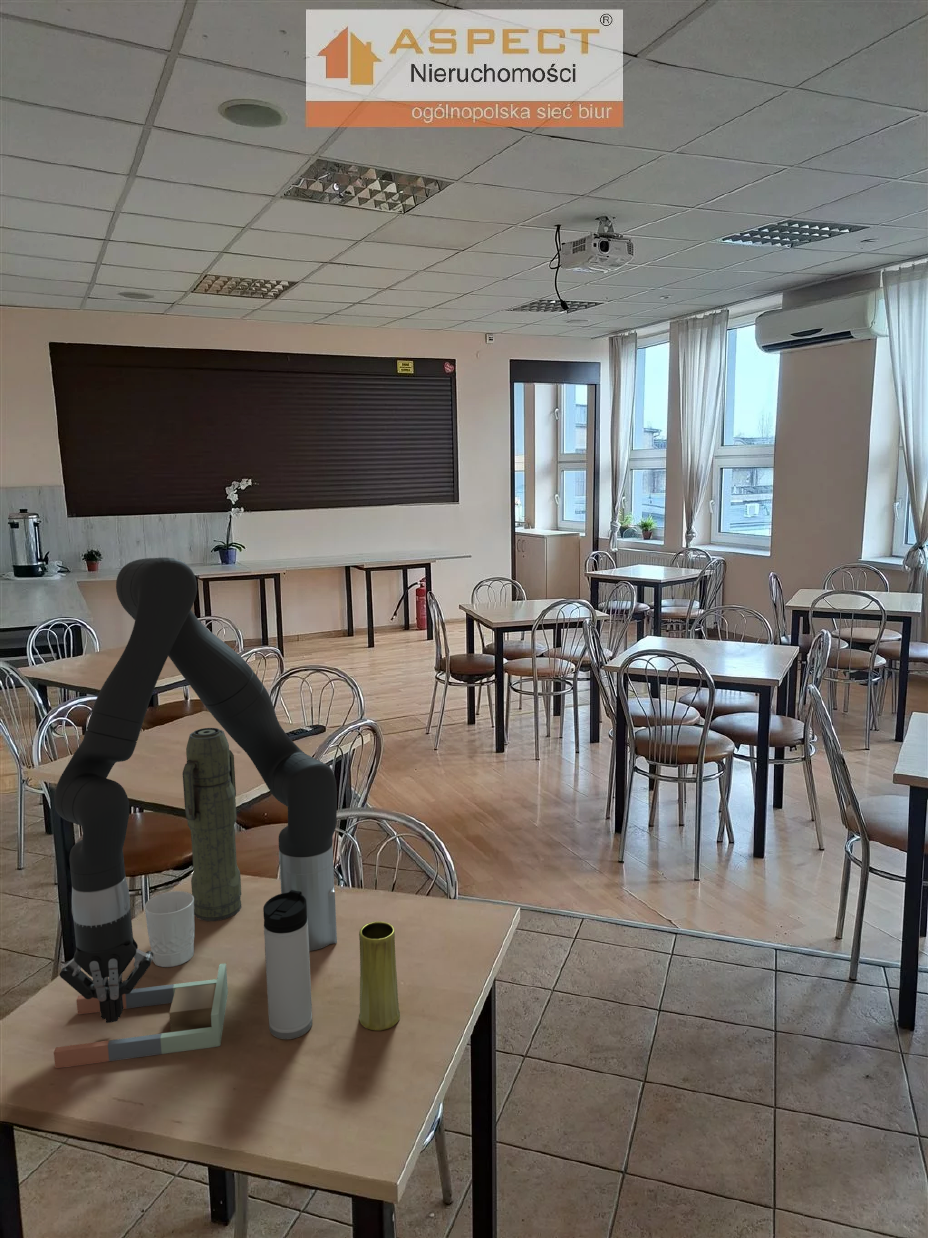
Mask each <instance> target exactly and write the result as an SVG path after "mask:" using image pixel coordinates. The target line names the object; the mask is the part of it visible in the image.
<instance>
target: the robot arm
mask: <svg viewBox="0 0 928 1238" xmlns="http://www.w3.org/2000/svg"><path fill="white" fill-rule="evenodd" d="M115 588H116V589H115V590H116V595H117V598H118V601H119V603H120V604H121V607H122V608H123V609H124V610H125V612H126V613H127V614H128V615H129V616H130V617H131V618H132V619H133V620H134V624H133V628H132V631H131V634H130V636H129V639H128V642H127V644H126V645H125V648H124V650H123V652H122V654H121V656H120V657H119V659H118V661H117V662H116V664H115V666H114V667H113V669H112V670H111V672H110V673H109V675H108V676H107V677H106V680H105V681H104V683H103V684H102V686H101V688H100V690H99V692H98V694H97V697H96V700H95V701H94V705H93V706H92V707H93V708H92V710H91V714H90V715H89V720H88V724H87V725H86V729H85V732H84V734H83V738H82V741H81V743H80V745H79V746H78V747H77V749H76V750H75V752H74V753H73V754H72V756H71V758H70V760H69V762H68V763H67V764H66V767H65V768H64V769H63V772H62V773H61V775H60V777H59V779H58V781H57V783H56V786H55V791H54V800H53V803H54V808H55V811H56V813H57V815H58V816H59V817H60V818H61V819H63V820H65V821H67V822H69V823H73V824H75V825H78V826H81V830H82V839H80V840H78V842H75V844H74V845H73V846H72V848H71V849H70V853H69V868H70V869H69V870H70V871H69V872H70V878H71V879H70V881H71V915H72V919H73V927H74V929H73V930H74V937H75V947H76V949H75V952H74V955H73V958H72V959H70V960H67V961H65V962H64V963H63V966H62V968H61V970H60V972H59V977H60V978H61V979H63V981H65V983H67V984H68V985H69V986H70V987H72V988H73V989H74V990H75V991H76V992H77V993H79V995H82V996H83V997H84V998H86V999H91V998H97V999H98V1000H99V1003H100V1012H99V1013H100V1017H101V1020H105V1023H106V1024H110V1023H117V1022H118V1020H119V1018H121V1017H122V1014H123V1011H124V1009H123V999H122V995H123V994H129V993H130V992H131V991H132V990H133V989H135V987H136V986H137V984H138V983H139V981H141V979H142V977H144V975H145V973H146V972H147V970H148V969H149V968H150V967H151V963H152V962H153V961H152V958H153V952H151V950H147V951H144V950H141V949H139V947H138V946H139V945H138V943H137V941H136V940H135V937H134V933H133V932H134V931H133V923H132V912H131V901H130V899H131V897H130V891H129V885H128V881H127V878H126V869H125V868H126V867H125V858H124V857H125V856H124V851H123V850H124V845H125V840H126V837H127V831H128V824H129V823H128V822H129V819H130V818H129V817H130V801H129V798H128V795H127V792H126V790H125V788H124V787H123V785H121V784H120V783H119V782H118V781H115V780H113V779H110V778H108V776H109V774H110V772H111V771H112V769H113V767H114V766H115V764H116V763H121V762H126V761H128V760H130V758H131V757H132V756H133V754H134V752H135V749H136V747H137V743H138V740H139V736H140V733H141V730H142V727H143V724H144V721H145V717H146V714H147V710H148V707H149V705H150V701H151V699H152V697H153V694H154V692H155V691H154V690H155V688H156V685H157V683H158V681H159V679H160V678H159V677H160V675H161V673H162V671H163V668H164V667H165V664H166V662H167V660H168V658H169V659H170V660H171V662H172V663H173V665H174V666H175V668H176V669H177V671H178V672H179V673H180V675H182V677H183V678H184V679H185V681H186V683H187V684H188V685H189V686H190V687H191V689H192V690H193V692H194V693H195V694H196V696H197V697H198V698H199V700H200V701H201V703H202V704H203V705H204V707H205V708H206V710H208V711H209V713H210V714H211V716H212V717H213V718H214V719H215V720H216V722H218V724H219V725H220V726H221V727H222V729H224V731H225V732H226V733H227V734H228V735H229V737H231V739H232V740H233V741H234V742H235V743H236V744H237V745H238V746H239V747H240V748H241V749H242V750H243V751H244V753H246V755H247V756H248V757H249V758H250V760H251V762H252V763H253V765H254V766H255V767H254V768H255V769H256V770H257V771H258V773H259V776H261V778H262V780H263V782H264V783H265V786H267V789H268V790H269V792H270V793H271V795H272V796H273V797H274V798H275V799H276V800H277V801H278V802H279V803H281V804H282V805H284V806H286V807H287V826H285V827H283V828H282V829H281V831H280V832H279V833H278V859H279V860H278V861H279V874H280V876H279V877H280V878H279V879H280V894H282V893H288V892H289V891H291V890H295V891H301V892H302V895H303V896H304V897H305V898H306V901H307V919H308V937H309V952H312V951H316V950H321V949H323V948H325V947H327V946H329V945H333V944H337V943H338V937H337V935H338V933H337V915H336V914H337V912H336V911H337V910H336V889H335V874H334V873H335V869H334V849H333V848H334V845H333V844H334V842H333V839H334V838H333V836H334V834H335V832H336V827H337V818H338V817H337V813H338V811H337V810H338V808H337V807H338V803H337V801H338V793H337V792H338V788H337V787H338V786H337V780H336V777H335V773H334V772H333V770H332V768H331V767H330V766H329V765H327V764H326V763H324V762H322V761H321V760H318V759H317V758H315V757H313V756H310V755H308V754H307V753H305V752H304V751H303V750H302V749H300V747H299V746H298V745H297V744H296V743H295V742H294V741H293V740H292V738H290V736H289V735H288V734H287V733H286V731H285V730H284V729H283V727H282V726H281V724H280V721H279V720H278V717H277V713H276V711H275V708H274V704H273V701H272V698H271V695H270V694H269V692H268V690H267V689H266V686H265V685H264V684H263V682H262V681H261V679H260V678H259V676H257V674H256V673H255V671H254V670H253V668H252V667H251V666H250V665H249V664H248V662H247V661H246V660H245V659H244V658H243V657H242V656H241V655H240V654H239V653H238V652H236V651H235V650H234V649H233V648H232V647H230V646H229V645H228V644H227V643H226V642H224V641H223V640H221V638H219V637H218V636H217V635H216V634H214V633H213V632H212V631H210V630H209V628H208V627H206V626H205V625H204V624H203V623H202V622H201V621H200V620H199V618H197V616H196V614H195V613H194V612H193V611H192V608H193V605H194V603H195V601H196V597H197V593H198V592H197V591H198V583H197V578H196V575H195V574H194V571H193V570H192V568H191V567H190V566H189V565H188V564H187V563H186V562H184V561H182V560H180V559H178V558H174V557H149V558H148V557H147V558H140V559H135V560H133V561H130V562H128V563H127V564H125V565H124V566H122V568H121V569H120V571H119V572H118V574H117V576H116V582H115ZM133 959H134V962H133V966H134V968H133V969H132V971H131V972H130V973H129V975H128V976H127V978H126V980H123V974H124V972H125V971H126V969H127V968H128V967H129V965H130V964H131V962H132V960H133Z"/></svg>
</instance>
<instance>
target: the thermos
mask: <svg viewBox="0 0 928 1238" xmlns="http://www.w3.org/2000/svg"><path fill="white" fill-rule="evenodd" d="M224 731H225V730H224ZM224 731H223V730H222V729H219V728H218V727H217V728H216V727H205V728H199V729H196V730H194V731H193V732H191V733H190V734H189V737H188V739H187V740H188V741H187V743H186V746H185V747H186V749H185V754H186V763H185V764H184V767H183V769H182V784H183V798H184V799H183V800H184V801H183V802H184V811H185V817H186V820H187V826H188V828H189V830H190V836H191V837H190V838H191V839H190V841H191V855H192V866H193V867H192V868H193V869H192V870H193V872H192V876H191V880H190V883H191V894H192V895H193V897H194V917H195V918H196V919H199V920H201V921H206V922H216V921H222V920H226V919H228V918H231V917H233V916H235V915H236V914H238V913H239V912H240V911H241V909H242V901H241V897H242V880H241V871H240V869H239V867H238V864H237V846H236V830H235V829H236V828H235V824H236V822H237V820H238V819H237V818H238V817H237V803H236V799H237V798H236V797H237V790H236V789H237V787H236V771H235V770H236V769H235V755H234V754H233V751H232V750H230V744H229V742H228V739H227V736H226V734H225V732H224Z"/></svg>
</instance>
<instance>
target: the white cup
mask: <svg viewBox="0 0 928 1238" xmlns="http://www.w3.org/2000/svg"><path fill="white" fill-rule="evenodd" d="M144 913H145V921H146V927H147V935H148V941H149V943H148V944H149V946H150V951H151V952H153V958H152V961H151V962H153V963H154V964H155V966H158V967H162V968H172V967H177V966H180V965H183V964H185V963H187V962H188V961H190V960H191V959H192V958H193V956H194V953H195V929H196V928H195V915H194V897H193V895H192V893H190V892H188V891H183V890H174V891H172V890H171V891H166V892H163V893H162V892H161V893H159V894H157V895H155V896H153V897H151V898H149V899H148V900H147V901H146V902H145V903H144Z"/></svg>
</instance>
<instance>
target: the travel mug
mask: <svg viewBox="0 0 928 1238" xmlns="http://www.w3.org/2000/svg"><path fill="white" fill-rule="evenodd" d="M262 912H263V913H262V914H263V919H264V920H263V936H264V937H263V938H264V953H265V954H264V956H265V958H264V959H265V971H266V973H265V975H266V976H265V977H266V991H267V995H266V996H267V1008H268V1009H267V1010H268V1028H269V1032H270V1033H271V1035H272V1036H273V1037H276V1038H277V1039H281V1040H293V1039H297V1038H299V1037H301V1036H304V1035H305V1034H306V1033H308V1031H310V1030H311V1028H312V1026H313V1013H312V1012H313V1007H312V1005H313V1004H312V986H311V983H312V982H311V963H310V960H311V959H310V951H309V937H308V919H307V901H306V898H305V897H304V896H303V895H302V892H301V891H295V890H291V891H289V892H288V893H282V894H281V893H279V894H276V895H274V896H271V898H269V899H268V900H267V901H266V902H265V903H264V904H263V911H262Z"/></svg>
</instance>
